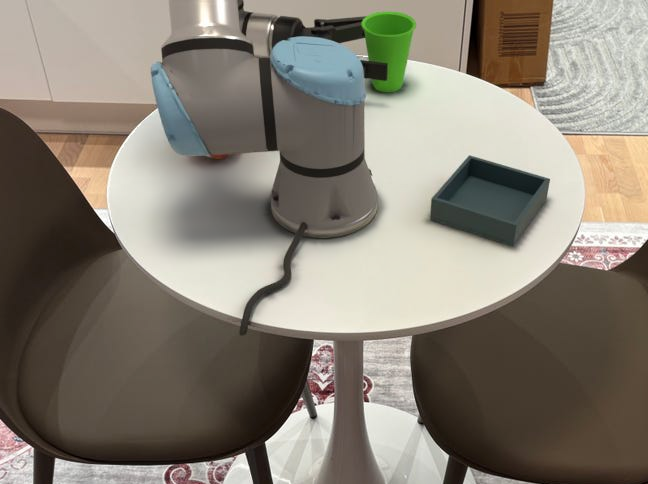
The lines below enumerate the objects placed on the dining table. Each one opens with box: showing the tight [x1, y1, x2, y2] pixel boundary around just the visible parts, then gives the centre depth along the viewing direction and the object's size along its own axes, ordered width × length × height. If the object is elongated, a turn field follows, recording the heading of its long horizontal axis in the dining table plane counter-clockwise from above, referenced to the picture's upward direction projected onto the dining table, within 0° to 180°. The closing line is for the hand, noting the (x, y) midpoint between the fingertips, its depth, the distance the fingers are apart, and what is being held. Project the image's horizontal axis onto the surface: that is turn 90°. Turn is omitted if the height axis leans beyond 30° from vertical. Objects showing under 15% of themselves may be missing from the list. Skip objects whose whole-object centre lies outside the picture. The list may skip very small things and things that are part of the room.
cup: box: [361, 11, 417, 93], centre depth 143 cm, size 9×9×11 cm
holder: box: [429, 154, 551, 247], centre depth 120 cm, size 13×13×4 cm
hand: (397, 53), depth 142 cm, fingers open, 13 cm apart
